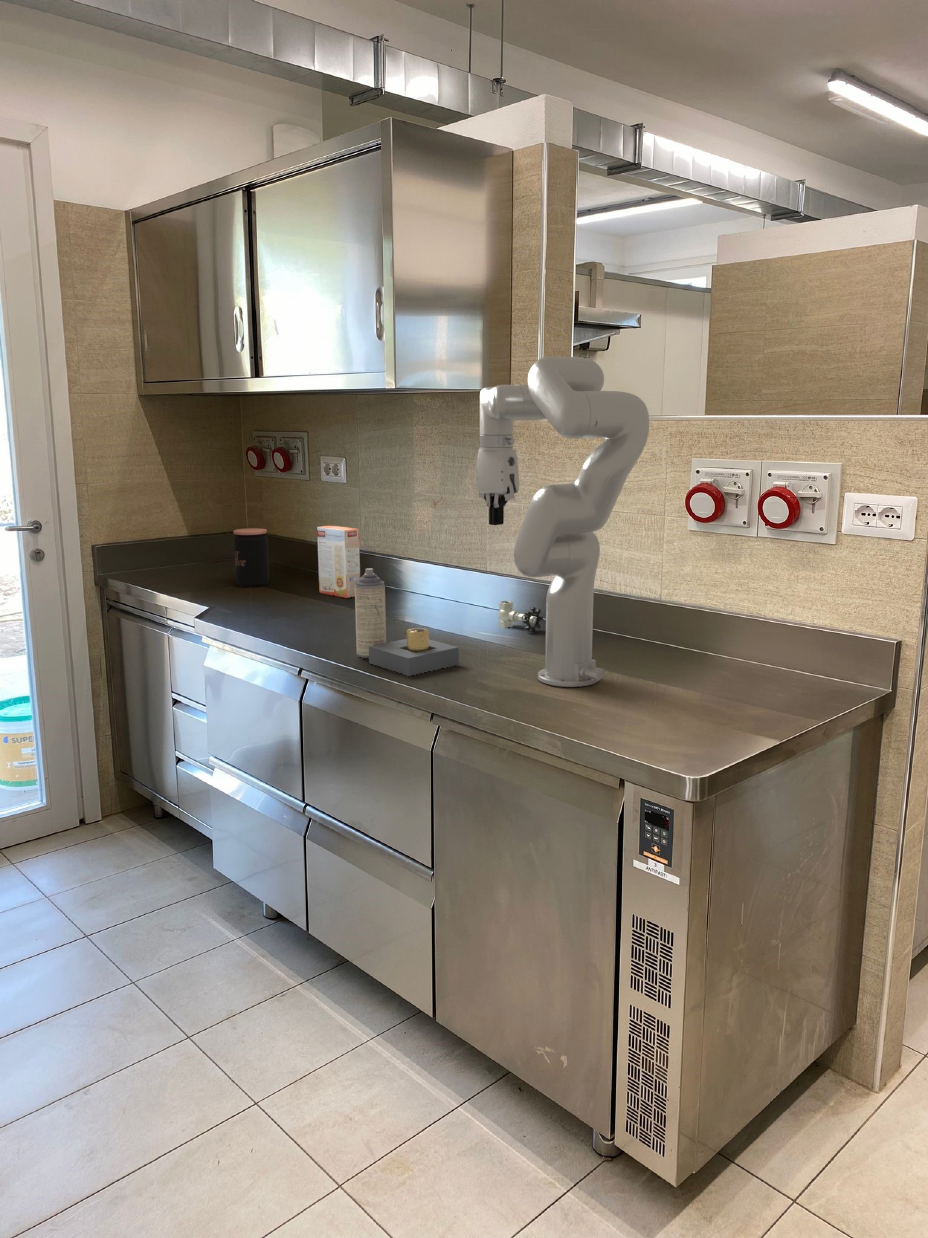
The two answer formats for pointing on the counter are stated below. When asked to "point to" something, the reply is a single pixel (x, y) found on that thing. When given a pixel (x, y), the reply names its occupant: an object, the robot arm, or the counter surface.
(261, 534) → the coffee jar
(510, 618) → the valve
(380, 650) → the block
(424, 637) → the brass bushing
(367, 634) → the aerosol can
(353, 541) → the cracker box
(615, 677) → the counter surface
